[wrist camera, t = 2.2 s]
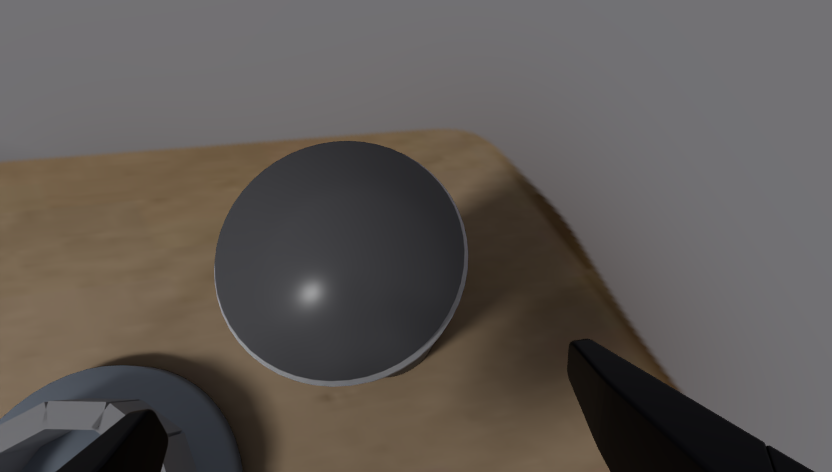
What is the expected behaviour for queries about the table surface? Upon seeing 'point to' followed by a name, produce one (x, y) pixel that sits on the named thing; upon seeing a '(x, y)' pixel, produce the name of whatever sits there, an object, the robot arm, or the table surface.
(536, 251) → the table surface
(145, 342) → the table surface
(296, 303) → the grey domed cylinder
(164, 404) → the ring
